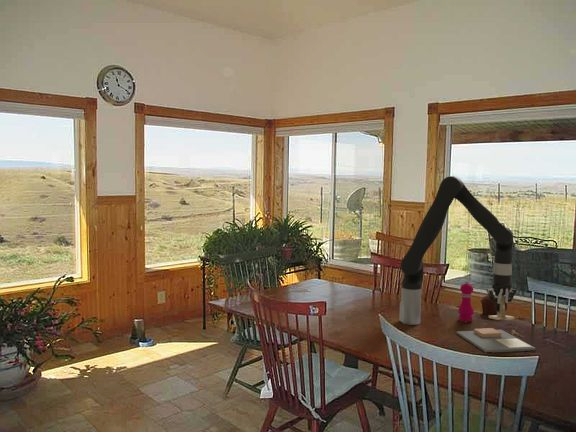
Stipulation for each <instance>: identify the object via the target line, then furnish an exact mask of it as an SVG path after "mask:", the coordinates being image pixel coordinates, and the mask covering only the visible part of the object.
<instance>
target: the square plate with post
mask: <svg viewBox="0 0 576 432" xmlns="http://www.w3.org/2000/svg"><path fill="white" fill-rule="evenodd" d="M499 304H500V311H499V312H497V315H492V316H488V319H493V320H496V321H505V320H507V321H508V320H509V321H510V320H515V316H512V315H507V314H506V311H505V299H504V296H503V295H502V297H501V299H500V303H499Z"/></svg>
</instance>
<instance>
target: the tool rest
mask: <svg viewBox="0 0 576 432" xmlns="http://www.w3.org/2000/svg"><path fill="white" fill-rule="evenodd" d="M517 338H518V337H516V338H514V339H495V340H496V341H498V342H500V343H501V344H503V345H505V346H506V347H508V348H525V347H532V346H533V345H531V344H529V343H527V342H525V341H524V340H522V339H520V338H518V339H517ZM519 339H520V340H519ZM521 340H522V341H521ZM523 341H524V342H525V343H524V342H523ZM526 343H527V344H526ZM528 344H529V345H528ZM530 345H531V346H530Z"/></svg>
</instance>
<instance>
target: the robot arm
mask: <svg viewBox="0 0 576 432" xmlns="http://www.w3.org/2000/svg"><path fill="white" fill-rule="evenodd" d="M454 199H455V200H457V201H458V202H459V203H460V204H461V205H462V206H463V207H464V208H465V209H466V210H467V211H468V213H469V214H470V215H471V217H472V218H473V219H474V220H475V221H476V222H477V223H478V224H479V225H480V226H482V228H484V230H486V231H487V233H488V234H489V236H491V238H492V239H493V240H494V241H495V251H494V260H493V267H492V286H491V288H487V289H486V292H487V295H489V297H490V300H491V301H493V302H495V310H496V311H497V312H499V311H500V304H499V303H500V299H501V297H502V295H503V296H504V299H505V312H506V311H507V309H508V303H510V302H512V301H513V300H514V297H515V295H516V293H517V289H514V288H513V287H512V286H511V284H512V276H513V275H512V273H513V266H512V264H513V263H512V261H513V259H512V258H513V253H512V251H513V243H514V233H513V231H512V230H511V229H510V228H508V227H505V226H504V225H503V224H502V223H501V222H500V221H499V219H498V218H497V216H496V215H495V214H493V213H492V212H491V211H490V210H489V209H488V208H487V207H486V206H485V205H484V204H482V203H481V201H479V200H478V199H477V198H476V197H475V196H474V195H473V194H472V193H471V191H470V190H469V189H468V188H467V186H466V185H465V183H464V182H463V181H462V178H460V177H458V176H455V175H449V176H447V177H445V178H443V179H442V180H441V182H440V184H439V188H438V190H437V193H436V195H435V197H434V200H433V202H432V204H431V205H430V206H429V208H428V211H427V212H426V213H425V216H424V218H423V219H422V222H421V223H420V225H419V227H418V228H417V229H418V230H417V232H416V234H415V236H414V239H413V241H412V244H411V245H410V248H409V249H408V250H407V252H406V254H405V255H404V256H403V258H402V259H401V261H400V270H401V271H402V273H403V278H402V281H401V301H400V302H399V316H398V317H399V319H398V321H399V322H401V323H402V324H403V325H408V326H409V325H410V326H414V325H415V326H416V325H420V324H421V307H422V304H421V303H422V284H423V280H424V279H423V278H424V262H423V259H424V256H425V254H426V252H427V251H428V250H429V248H430V247H431V245H432V244H433V243H434V241H436V239H437V237H438V236H439V235H440V232H441V230H442V228H443V227H444V224H445V220H446V217H447V213H448V211H449V208H450V206H451V205H452V203H453V201H454Z"/></svg>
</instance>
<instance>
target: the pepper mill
mask: <svg viewBox="0 0 576 432" xmlns="http://www.w3.org/2000/svg"><path fill="white" fill-rule="evenodd" d="M460 292H461V293H460V294H461V295H460V296H461V303H460V305H459V307H458V310H457V312H458V314H459V315H458V320H459V321H460V320H461V322H464V321H466V322H465V323H471V322H472V321H473V315H474V313H475V311H474V307H473V305H472V300H471V299H472V295H473V294H472V293H474V287H473V285H472V284H470V282H469V280H465V282H464V283H462V284H461V286H460Z"/></svg>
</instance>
